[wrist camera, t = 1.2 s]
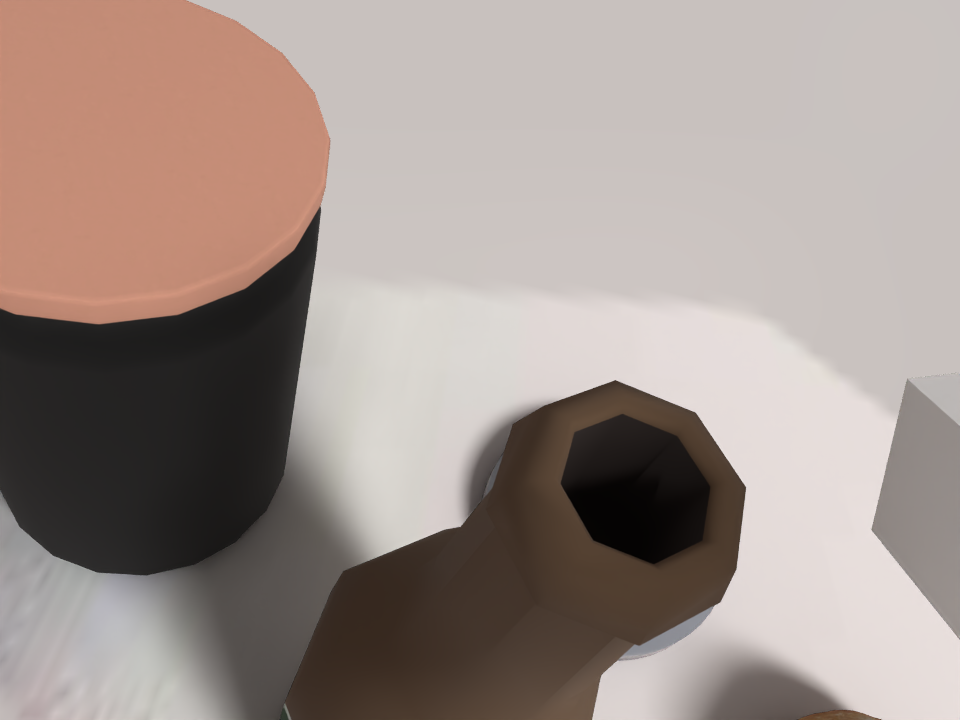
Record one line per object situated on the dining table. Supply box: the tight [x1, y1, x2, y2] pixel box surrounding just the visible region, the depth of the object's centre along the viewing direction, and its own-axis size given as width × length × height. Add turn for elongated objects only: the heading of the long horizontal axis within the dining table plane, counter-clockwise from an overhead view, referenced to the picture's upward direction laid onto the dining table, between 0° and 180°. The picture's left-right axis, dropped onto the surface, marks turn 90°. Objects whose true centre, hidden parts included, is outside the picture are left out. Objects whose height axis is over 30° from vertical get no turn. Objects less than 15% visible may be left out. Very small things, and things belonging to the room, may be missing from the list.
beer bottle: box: [280, 380, 746, 720], centre depth 21 cm, size 8×8×24 cm
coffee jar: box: [0, 0, 330, 575], centre depth 28 cm, size 11×11×18 cm
